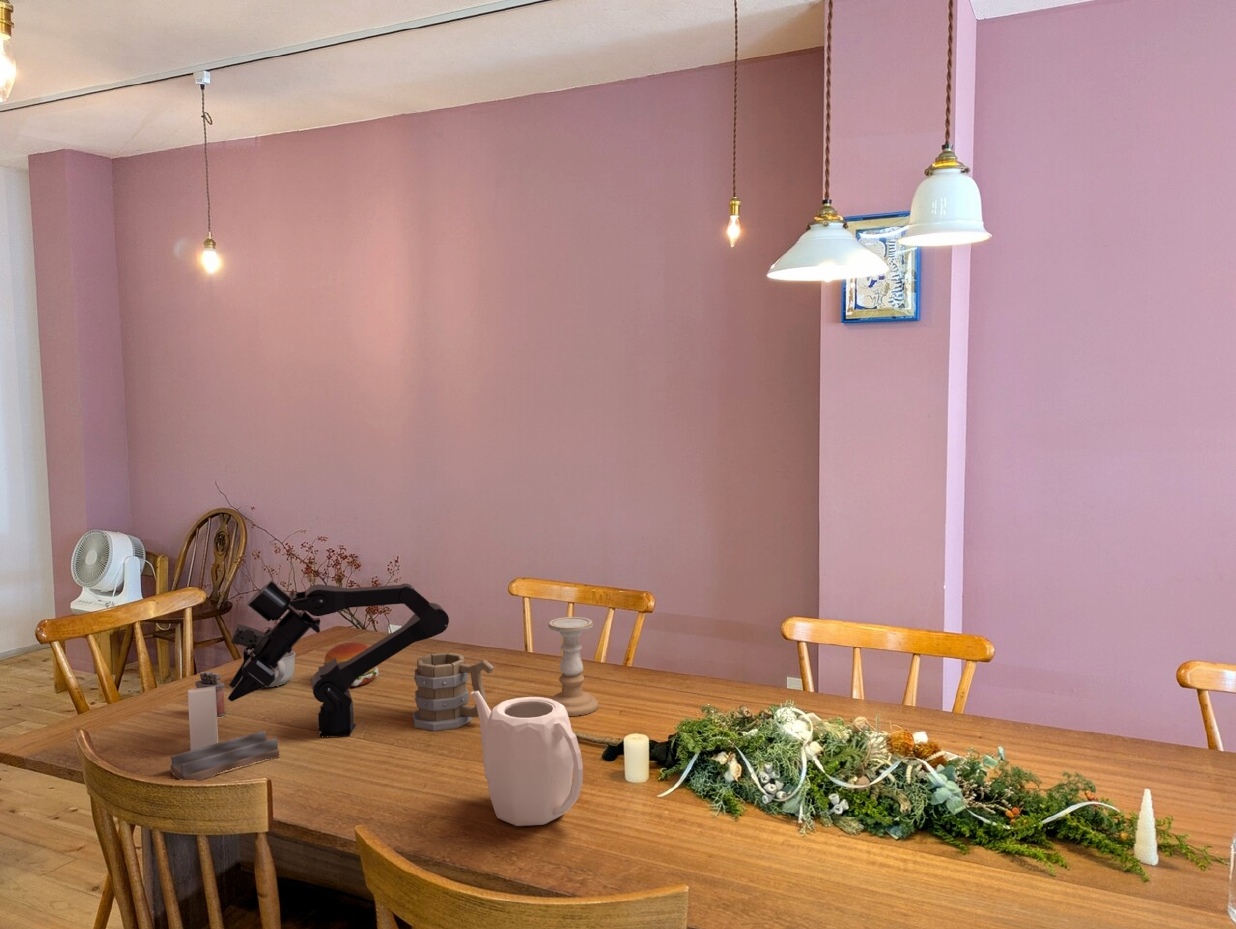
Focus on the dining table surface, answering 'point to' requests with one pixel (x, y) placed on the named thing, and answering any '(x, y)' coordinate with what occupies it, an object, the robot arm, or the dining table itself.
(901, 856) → the dining table surface
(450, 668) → the tankard
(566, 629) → the candle holder
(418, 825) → the dining table surface
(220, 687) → the lighter
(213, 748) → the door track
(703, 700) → the dining table surface
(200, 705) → the door panel
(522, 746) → the watering can
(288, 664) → the teacup
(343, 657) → the burger
